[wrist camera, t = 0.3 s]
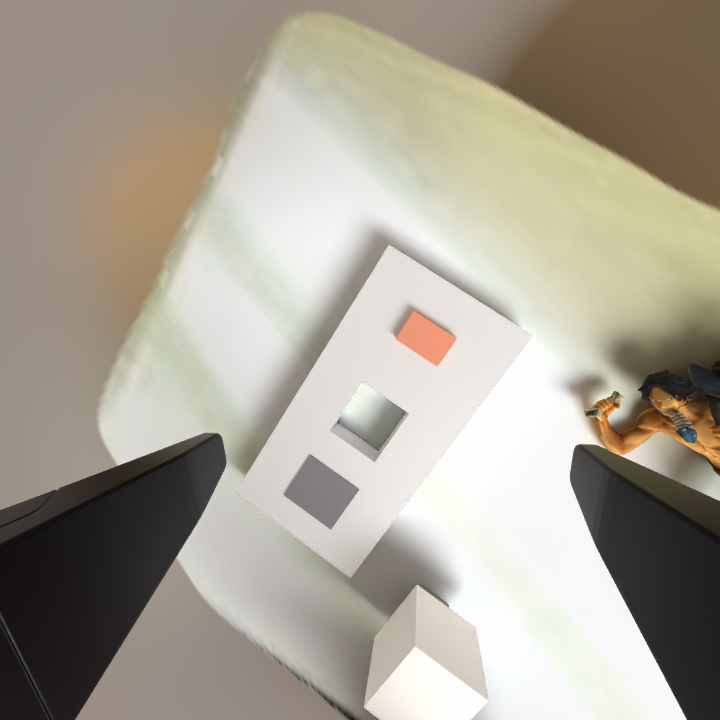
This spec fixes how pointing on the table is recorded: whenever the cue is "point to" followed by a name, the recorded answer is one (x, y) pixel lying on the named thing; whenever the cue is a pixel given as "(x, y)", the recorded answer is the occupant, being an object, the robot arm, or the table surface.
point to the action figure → (670, 413)
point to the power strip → (399, 385)
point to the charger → (425, 664)
